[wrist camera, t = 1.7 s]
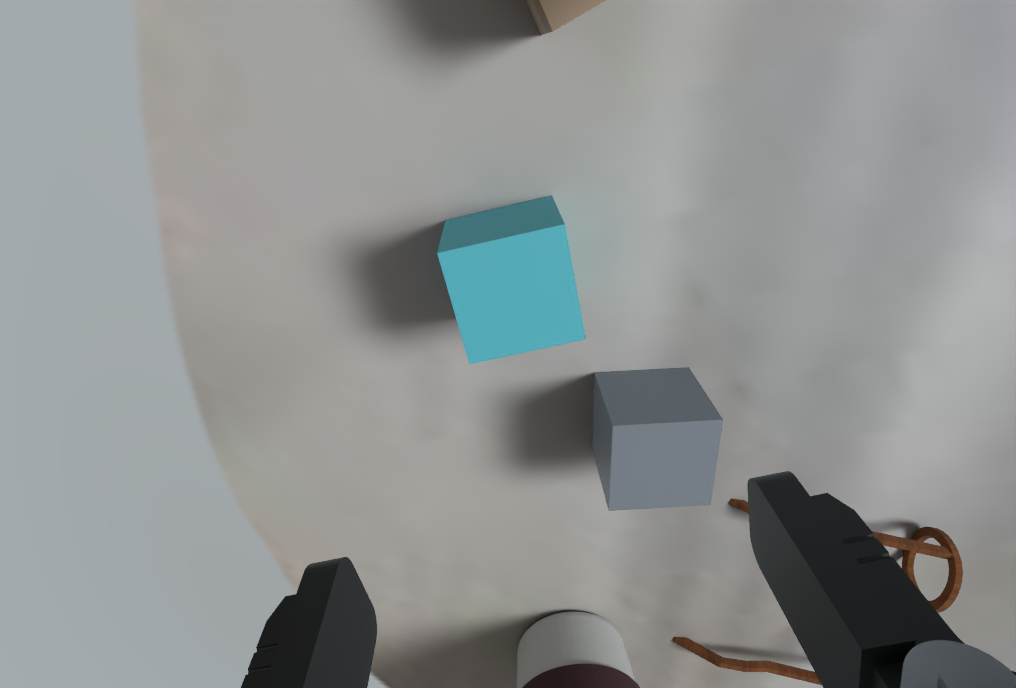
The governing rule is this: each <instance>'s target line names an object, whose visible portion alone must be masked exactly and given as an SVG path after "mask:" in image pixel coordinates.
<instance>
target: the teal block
mask: <svg viewBox="0 0 1016 688" xmlns="http://www.w3.org/2000/svg"><path fill="white" fill-rule="evenodd" d="M437 255H438V258H439V261H440V265H441V268H442V272H443V275H444V279H445V282H446V285H447V289H448V292H449V296H450V299H451V303H452V306H453V309H454V313H455V316H456V320H457V323H458V327H459V330H460V333H461V337H462V340H463V344H464V347H465V351H466V354H467V357H468V361H469V364H472V363H477V362H482V361H486V360H491V359H496V358H500V357H505V356H510V355H514V354H519V353H524V352H528V351H533V350H538V349H542V348H547V347H552V346H556V345H561V344H566V343H570V342H575V341H580V340H584V339H586V338H585V332H584V327H583V321H582V316H581V311H580V305H579V300H578V294H577V289H576V283H575V278H574V272H573V267H572V261H571V256H570V250H569V245H568V240H567V234H566V229H565V224H564V222H563V219H562V217H561V215H560V213H559V210H558V208H557V206H556V204H555V202H554V199H553V197H552V196H547V197H543V198H539V199H535V200H530V201H526V202H522V203H517V204H513V205H509V206H504V207H500V208H496V209H492V210H487V211H483V212H479V213H474V214H470V215H466V216H462V217H457V218H453V219H449V220H445V224H444V228H443V232H442V236H441V240H440V244H439V248H438V252H437Z"/></svg>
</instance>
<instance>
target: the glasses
mask: <svg viewBox="0 0 1016 688" xmlns="http://www.w3.org/2000/svg"><path fill="white" fill-rule="evenodd" d="M729 504H731V505H733V506H735V507H737V508H739V509H741V510H743V511H745V512H747V513H749V503H748V502H746V501H744V500H737V499H731V500H730V503H729ZM872 533H873V535H874V537H875V538H877V539H878V540H879V541H880V542H881V544H882V545H885V546H889V547H894V548H898V549H903V550H905V551H904V554H903V559H902V570H903V571H904V572H905V573H906V575H907V576H908V577H909V578H910V579H911V581H912V582H913V583H914V584H915V586H916V587H917V588H918V586H917V583H916V581H915V577H914V571H913V565H914V558H915V555H916V552H917V553H921V554H926V555H930V556H935V557H940V558H944V559H948V564H949V577H948V581H947V584H946V587H945V589H944V591H943V592H942V594H941V595H940V596H939V597H938V598H937V599H935V600H933V601H928V602H929V603H930V604H931V605H932V607H933V608H934V609H935V610H936V612H937V613H938V612H942V611H944V610H946V609H947V608H948V607H950V606H951V604H952V603H953V602H954V601H955V599H956V597H957V595H958V593H959V590H960V588H961V583H962V574H963V570H962V562H961V558H960V555H959V552H958V550H957V548H956V546H955V544H954V543H953V541H952V540H951V539H950V537H949V536H948V535H947V534H946V533H944V532H943V531H941V530H939V529H937V528H932V527H923V528H920V529H919V530H917V531H916V532H915V534H914V536H913V537H912V539H911V540H910V539H905V538H901V537H896V536H892V535H887V534H882V533H878V532H873V531H872ZM928 538H934V539H935V540H937V541H938V542H939V543H940V545H941V546H938V545H933V544H928V543H924V541H925V540H926V539H928ZM918 589H919V588H918ZM919 591H920V590H919ZM674 642H675V643H676V644H678V645H680V646H682V647H684V648H685V649H687V650H689V651H691V652H693V653H695V654H696V655H698V656H700V657H702V658H704V659H705V660H707V661H709V662H711V663H713V664H714V665H716V666H718V667H722V668H728V669H733V670H738V671H743V672H769V673H774V674H778V675H782V676H786V677H790V678H794V679H799V680H803V681H807V682H811V683H815V684H820V685H822V684H821V682H820V680H819V678H818V676H817V674H816V672H813V671H808V670H804V669H800V668H796V667H792V666H787V665H783V664H779V663H775V662H771V661H743V660H737V659H730V658H724V657H721V656H719V655H717V654H715V653H714V652H712V651H710V650H708V649H706V648H704V647H703V646H701V645H699V644H697V643H695V642H693V641H692V640H690V639H688V638H685V637H675V639H674Z"/></svg>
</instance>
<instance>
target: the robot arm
mask: <svg viewBox="0 0 1016 688" xmlns="http://www.w3.org/2000/svg"><path fill="white" fill-rule="evenodd" d="M748 503H749V522H750V538H751V543H752V547H753V551H754V554H755V557H756V560H757V563H758V565H759V567H760V569H761V571H762V573H763V575H764V577H765V579H766V581H767V582H768V584H769V586H770V588H771V590H772V592H773V594H774V596H775V597H776V599H777V601H778V603H779V605H780V607H781V609H782V611H783V612H784V614H785V616H786V618H787V620H788V622H789V624H790V626H791V627H792V629H793V631H794V633H795V635H796V637H797V639H798V641H799V642H800V644H801V646H802V648H803V650H804V652H805V654H806V656H807V657H808V659H809V661H810V663H811V665H812V667H813V669H814V671H815V672H816V674H817V676H818V678H819V680H820V682H821V684H822V686H823V687H824V688H1016V672H1013V671H1011V670H1010V669H1009V668H1007V667H1006V666H1005V665H1004V664H1002V663H1001V662H1000V661H998V660H997V659H995V658H994V657H992V656H991V655H989V654H987V653H985V652H983V651H981V650H979V649H977V648H974V647H972V646H969V645H967V644H964V643H963V642H962V641H961V640H960V639H959V638H958V637H957V636H956V635H955V634H954V632H953V631H952V630H951V629H950V628H949V626H948V625H947V624H946V623H945V621H944V620H943V619H942V618H941V617H940V615H939V614H938V613H937V612H936V610H935V609H934V608H933V607H932V605H931V604H930V603H929V602H928V600H927V599H926V598H925V597H924V596H923V594H922V593H921V592H920V591H919V589H918V588H917V587H916V586H915V584H914V583H913V582H912V581H911V579H910V578H909V577H908V576H907V575H906V573H905V572H904V571H903V570H902V568H901V567H900V566H899V565H898V563H897V562H896V561H895V560H894V558H891V557H890V556H889V552H888V551H887V550H886V549H885V547H884V546H883V545H882V544H881V542H880V541H879V540H878V539H877V538H875V537H874V535H873V533H872V531H871V530H870V529H869V528H868V526H867V525H866V524H865V523H864V521H863V520H862V519H861V518H860V516H859V515H858V514H857V513H856V512H855V510H853V509H851V508H850V507H848V506H847V505H845V504H844V503H842V502H841V501H839V500H837V499H836V498H834V497H833V496H831V495H830V494H828V493H825V494H820V495H815V496H809V494H808V493H807V492H806V490H805V489H804V487H803V486H802V485H801V483H800V482H799V481H798V479H797V478H796V477H795V475H794V474H793V473H791V472H789V471H787V472H782V473H776V474H771V475H766V476H761V477H756V478H751V479H749V480H748ZM376 637H377V622H376V615H375V611H374V607H373V605H372V603H371V601H370V599H369V597H368V595H367V593H366V590H365V588H364V586H363V584H362V582H361V580H360V578H359V576H358V574H357V572H356V570H355V568H354V566H353V564H352V562H351V560H350V559H349V558H347V557H343V558H338V559H333V560H328V561H323V562H318V563H313V564H310V565H308V566H307V568H306V569H305V571H304V574H303V577H302V579H301V582H300V585H299V588H298V591H297V594H295V595H291V596H285V598H284V599H283V600H282V602H281V603H280V604H279V606H278V607H277V608H276V610H275V611H274V612H273V613H272V615H271V616H270V617H269V619H268V620H267V622H266V624H265V627H264V629H263V632H262V634H261V637H260V640H259V643H258V645H257V647H256V648H257V652H256V653H254V655H253V658H252V660H251V663H250V666H249V668H248V675H246V676H245V678H244V681H243V683H242V686H241V688H367V685H368V681H369V675H370V670H371V665H372V659H373V654H374V649H375V643H376Z"/></svg>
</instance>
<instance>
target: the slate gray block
mask: <svg viewBox="0 0 1016 688" xmlns="http://www.w3.org/2000/svg"><path fill="white" fill-rule="evenodd" d="M722 422H723V419H722V418H721V416H720V414H719V413H718V411H717V410H716V408H715V407H714V405H713V404H712V402H711V401H710V399H709V398H708V396H707V395H706V393H705V392H704V390H703V388H702V387H701V385H700V384H699V382H698V381H697V379H696V378H695V376H694V375H693V373H692V372H691V370H690V369H689V367H688V368H669V369H650V370H631V371H612V372H594V404H593V440H592V450H593V454H594V458H595V461H596V465H597V469H598V472H599V476H600V480H601V483H602V487H603V491H604V494H605V498H606V502H607V505H608V509H609V511H612V510H629V509H646V508H664V507H681V506H698V505H710V504H711V497H712V490H713V484H714V477H715V470H716V463H717V456H718V450H719V443H720V436H721V429H722Z"/></svg>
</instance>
